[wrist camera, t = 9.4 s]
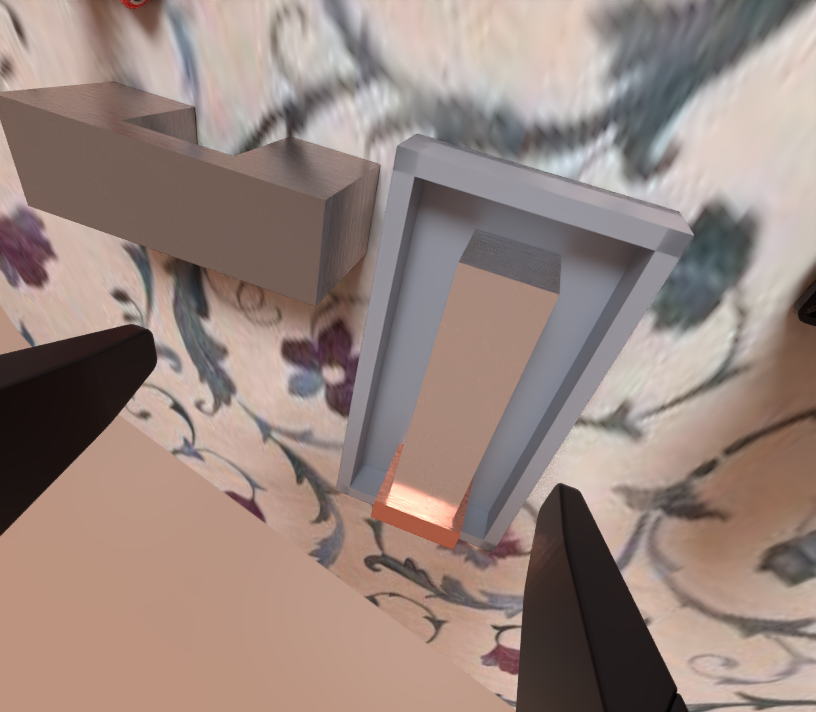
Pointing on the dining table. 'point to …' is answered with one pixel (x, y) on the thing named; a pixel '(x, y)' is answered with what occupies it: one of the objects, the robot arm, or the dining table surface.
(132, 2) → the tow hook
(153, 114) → the block
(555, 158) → the dining table surface
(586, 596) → the robot arm
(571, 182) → the tray
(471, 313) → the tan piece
